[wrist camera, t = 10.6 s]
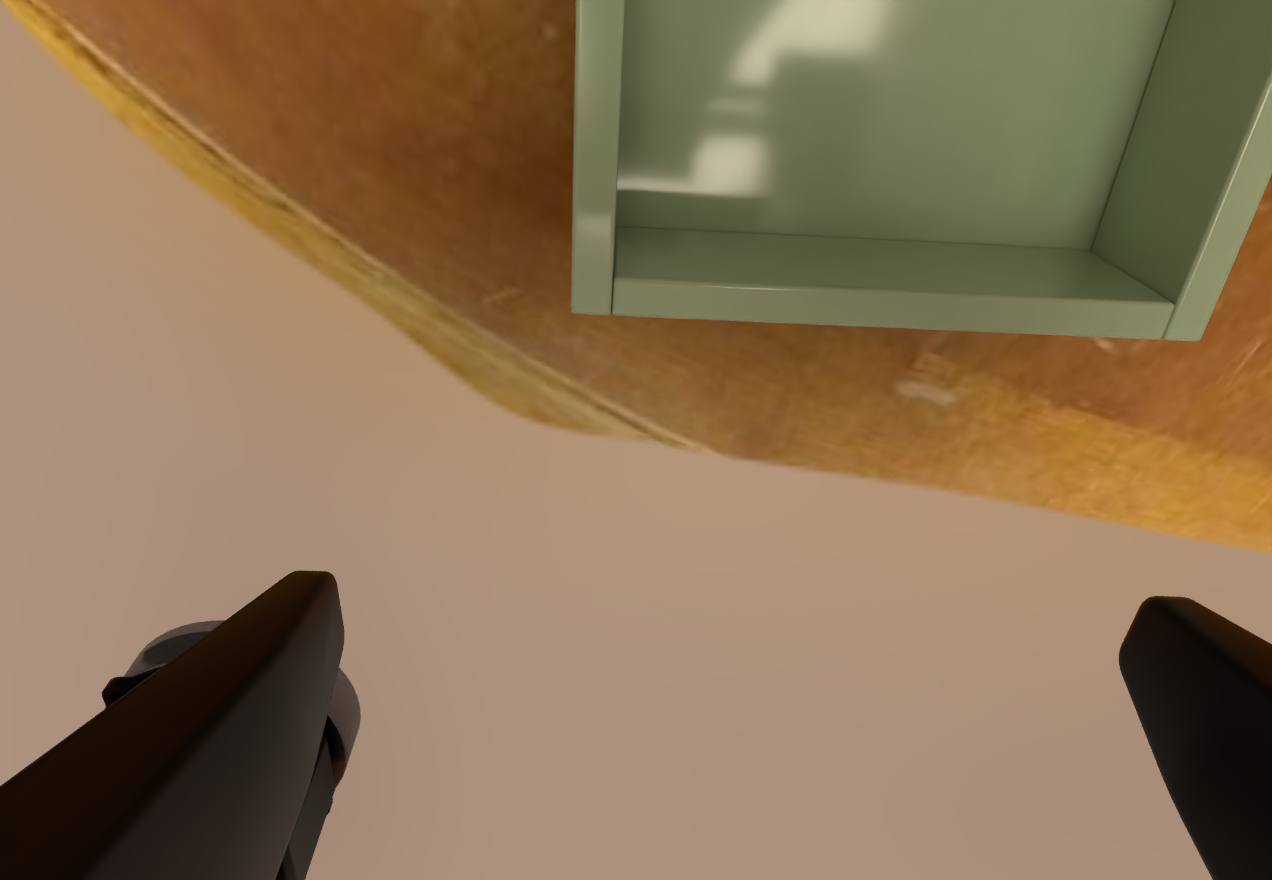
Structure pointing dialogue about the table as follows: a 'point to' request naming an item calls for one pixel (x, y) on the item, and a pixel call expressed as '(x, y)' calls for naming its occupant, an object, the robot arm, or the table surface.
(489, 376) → the table surface
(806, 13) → the tray
